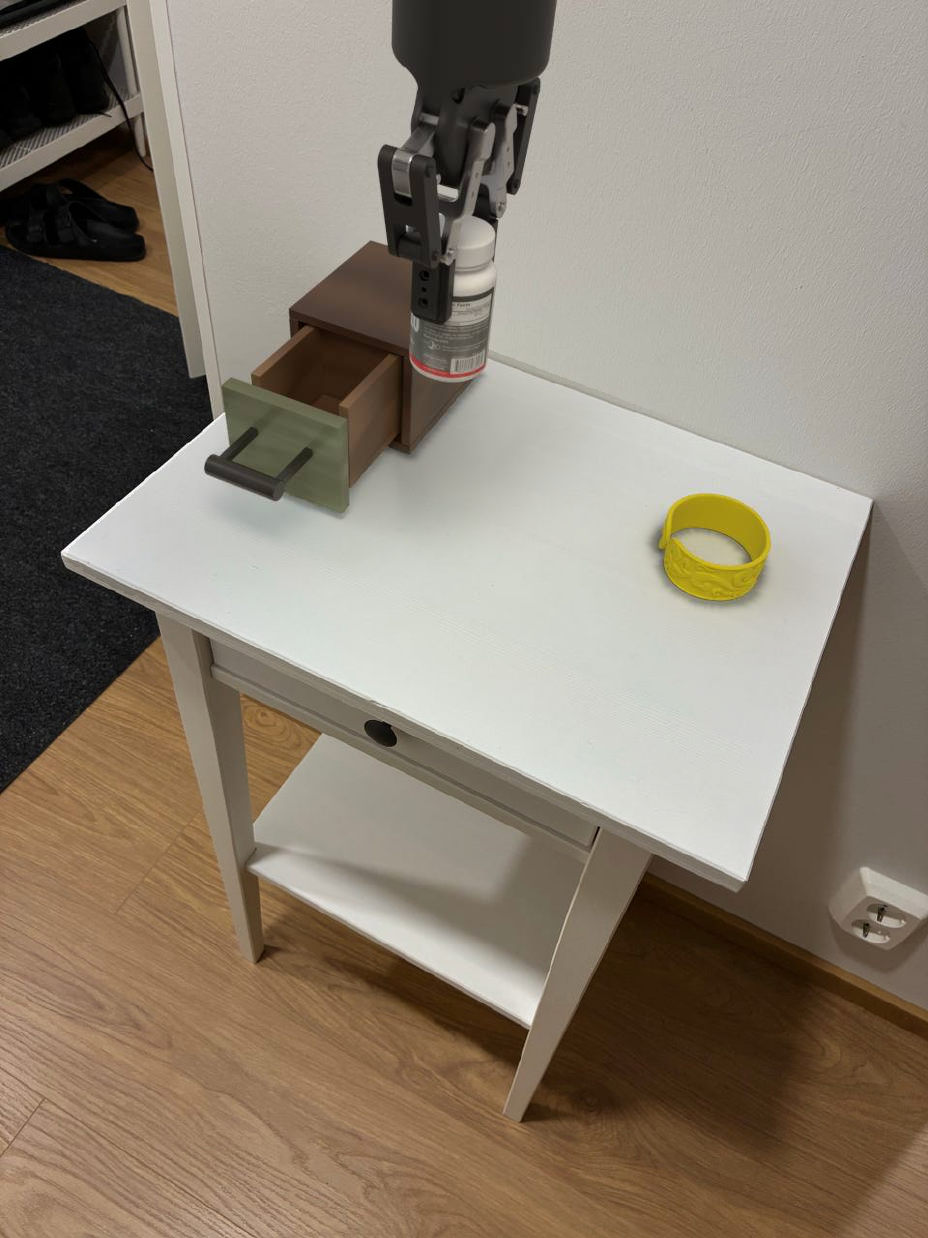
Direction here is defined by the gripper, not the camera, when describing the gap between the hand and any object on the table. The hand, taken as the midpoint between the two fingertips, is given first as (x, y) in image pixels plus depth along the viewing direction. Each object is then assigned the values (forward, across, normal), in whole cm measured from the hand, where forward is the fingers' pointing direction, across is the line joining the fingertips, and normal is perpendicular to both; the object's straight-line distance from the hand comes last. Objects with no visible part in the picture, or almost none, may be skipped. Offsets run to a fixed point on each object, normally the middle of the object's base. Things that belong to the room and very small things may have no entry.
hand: (452, 296), depth 55 cm
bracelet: (+20, -9, +18) cm, 29 cm away
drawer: (+19, -2, -12) cm, 23 cm away
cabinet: (+20, -15, -12) cm, 28 cm away
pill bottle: (+5, 0, 0) cm, 5 cm away
